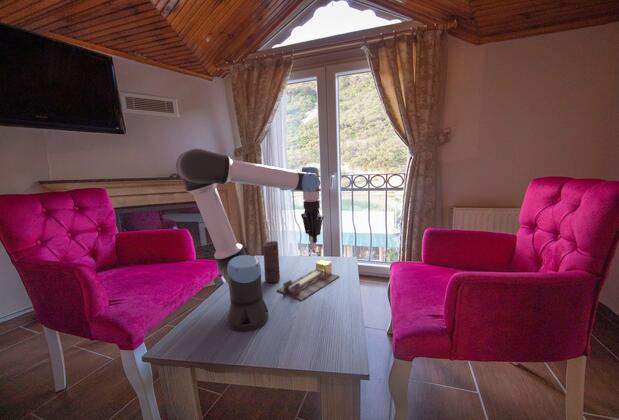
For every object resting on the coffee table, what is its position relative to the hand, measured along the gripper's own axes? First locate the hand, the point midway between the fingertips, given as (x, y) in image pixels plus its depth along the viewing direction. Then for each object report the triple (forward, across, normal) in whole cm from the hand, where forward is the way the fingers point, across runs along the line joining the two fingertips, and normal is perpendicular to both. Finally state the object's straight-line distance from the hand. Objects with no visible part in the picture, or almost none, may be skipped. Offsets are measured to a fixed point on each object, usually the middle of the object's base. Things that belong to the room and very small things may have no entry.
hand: (313, 248), depth 127 cm
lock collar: (+17, +1, -8) cm, 18 cm away
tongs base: (+17, 0, +4) cm, 17 cm away
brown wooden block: (+17, +16, +14) cm, 27 cm away
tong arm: (+15, 0, +7) cm, 16 cm away
